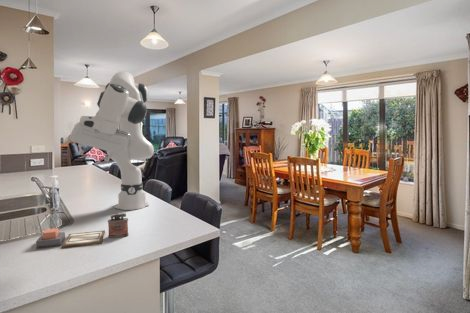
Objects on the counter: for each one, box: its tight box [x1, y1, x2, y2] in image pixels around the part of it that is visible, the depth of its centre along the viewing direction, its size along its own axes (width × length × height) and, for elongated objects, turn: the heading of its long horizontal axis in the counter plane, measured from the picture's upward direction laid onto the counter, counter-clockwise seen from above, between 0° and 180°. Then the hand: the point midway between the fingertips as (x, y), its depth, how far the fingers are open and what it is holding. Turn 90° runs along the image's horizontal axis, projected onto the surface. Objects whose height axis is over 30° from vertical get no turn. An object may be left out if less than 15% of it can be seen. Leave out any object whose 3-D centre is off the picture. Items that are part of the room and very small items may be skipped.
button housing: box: [35, 231, 66, 250], centre depth 113 cm, size 8×8×3 cm
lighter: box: [107, 212, 129, 239], centre depth 121 cm, size 8×3×10 cm, turn 105°
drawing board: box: [61, 230, 106, 249], centre depth 117 cm, size 13×14×1 cm
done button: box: [42, 227, 60, 239], centre depth 113 cm, size 4×4×3 cm
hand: (93, 157), depth 111 cm, fingers open, 8 cm apart
